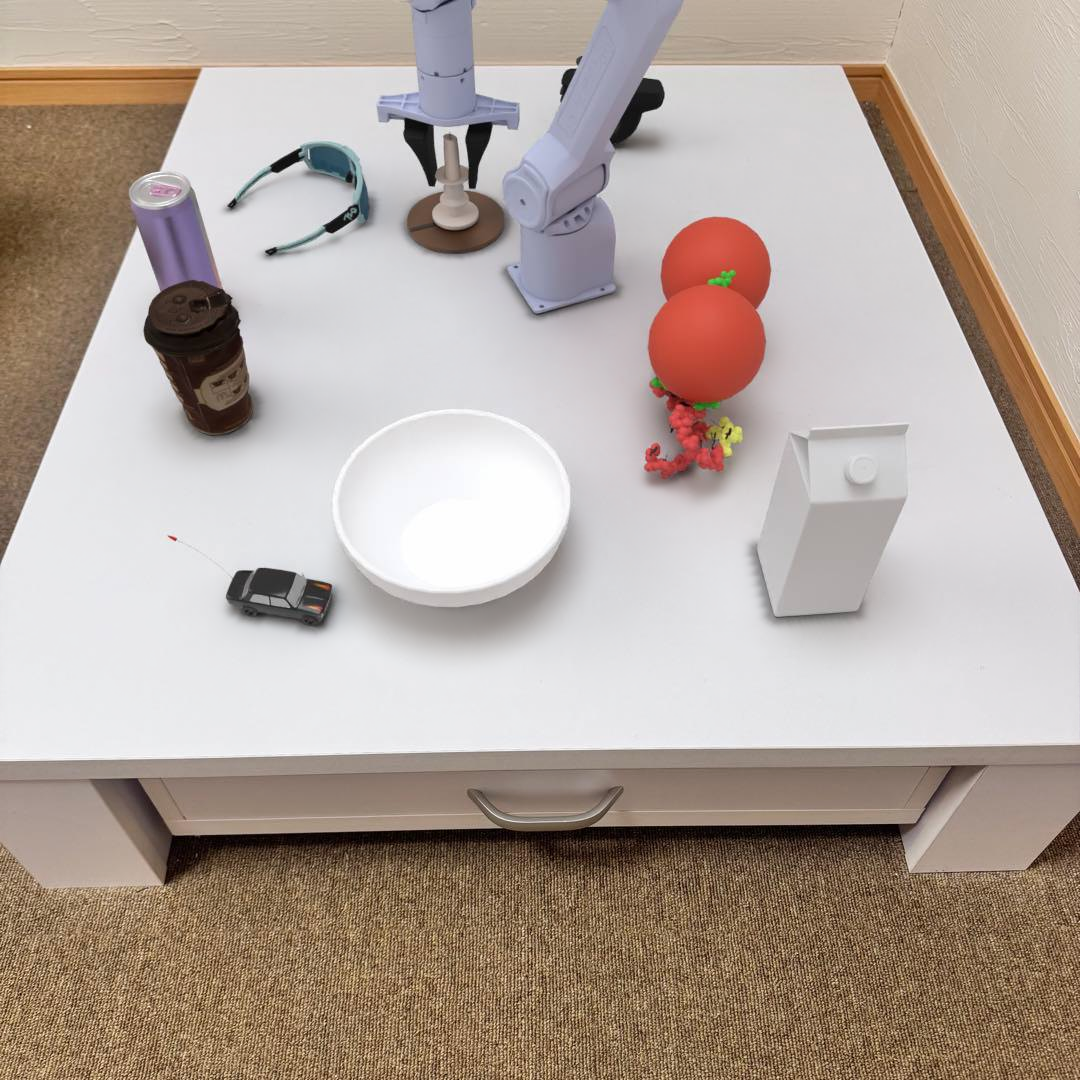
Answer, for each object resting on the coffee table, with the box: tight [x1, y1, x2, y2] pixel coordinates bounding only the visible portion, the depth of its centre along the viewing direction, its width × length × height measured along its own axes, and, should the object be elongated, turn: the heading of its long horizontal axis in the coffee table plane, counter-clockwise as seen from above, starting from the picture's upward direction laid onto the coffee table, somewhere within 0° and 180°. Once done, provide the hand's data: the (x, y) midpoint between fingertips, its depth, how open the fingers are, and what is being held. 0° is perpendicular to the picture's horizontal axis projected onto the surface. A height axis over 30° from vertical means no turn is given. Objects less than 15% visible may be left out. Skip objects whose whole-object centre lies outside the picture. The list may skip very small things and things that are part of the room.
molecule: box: [643, 216, 772, 479], centre depth 98 cm, size 25×11×15 cm, turn 173°
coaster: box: [406, 189, 506, 255], centre depth 120 cm, size 11×11×1 cm
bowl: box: [331, 408, 572, 608], centre depth 90 cm, size 20×20×7 cm
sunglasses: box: [226, 140, 370, 256], centre depth 120 cm, size 14×15×5 cm
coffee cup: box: [142, 280, 254, 436], centre depth 97 cm, size 9×8×13 cm
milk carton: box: [756, 421, 910, 618], centre depth 83 cm, size 7×7×19 cm
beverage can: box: [128, 170, 224, 292], centre depth 105 cm, size 6×6×15 cm
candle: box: [432, 131, 479, 230], centre depth 115 cm, size 5×5×10 cm
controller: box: [559, 55, 666, 145], centre depth 126 cm, size 4×12×10 cm, turn 78°
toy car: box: [167, 534, 333, 627], centre depth 86 cm, size 4×12×8 cm, turn 80°
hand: (453, 182), depth 116 cm, fingers closed on candle, 4 cm apart
